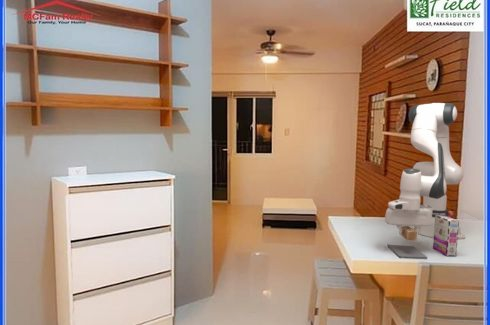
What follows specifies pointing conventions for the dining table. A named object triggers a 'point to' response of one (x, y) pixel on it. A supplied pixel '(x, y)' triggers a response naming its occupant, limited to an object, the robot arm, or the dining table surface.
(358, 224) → the dining table surface
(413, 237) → the oak block
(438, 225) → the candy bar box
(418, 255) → the slate mat
